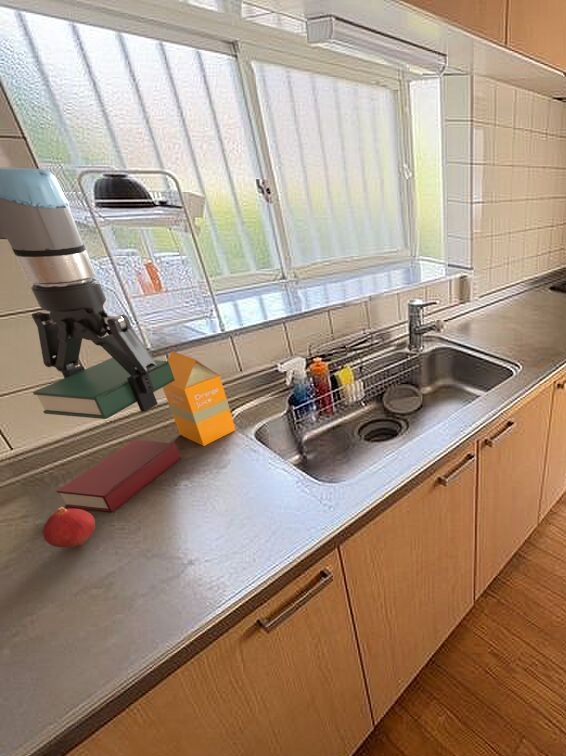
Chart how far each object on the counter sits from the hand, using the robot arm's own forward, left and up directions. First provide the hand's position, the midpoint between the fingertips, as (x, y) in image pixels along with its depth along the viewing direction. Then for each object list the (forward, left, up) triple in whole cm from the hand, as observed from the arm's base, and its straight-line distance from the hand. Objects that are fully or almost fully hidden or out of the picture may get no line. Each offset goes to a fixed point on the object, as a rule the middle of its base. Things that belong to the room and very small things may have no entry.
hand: (119, 405), depth 74 cm
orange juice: (-3, +18, -18) cm, 26 cm away
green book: (0, 0, +2) cm, 2 cm away
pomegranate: (0, -15, -18) cm, 24 cm away
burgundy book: (-6, 0, -18) cm, 19 cm away
